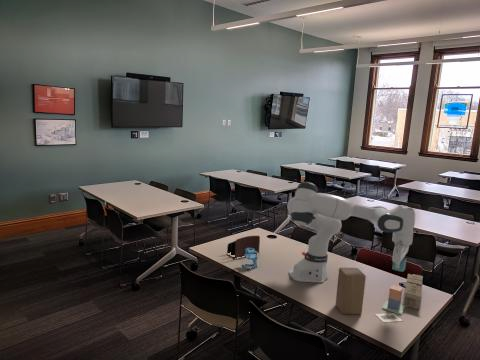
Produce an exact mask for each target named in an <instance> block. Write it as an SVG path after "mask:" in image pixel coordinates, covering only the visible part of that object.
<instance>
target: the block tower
mask: <svg viewBox="0 0 480 360" xmlns="http://www.w3.org/2000/svg"><path fill="white" fill-rule="evenodd" d="M423 278H424V276H423V275H420V274H414V273H413V274H411V273H407V277H406V282H405V289H404V290H405V291H404V294H403V295H404V296H403V304H402V305H403V306H405V307H409V308H413V309H416V310H420V309H421V300H422V290H423Z"/></svg>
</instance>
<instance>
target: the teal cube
mask: <svg viewBox="0 0 480 360" xmlns="http://www.w3.org/2000/svg"><path fill="white" fill-rule="evenodd" d="M406 265H407V258H404V259H402V261H401V262H400V268H399V269H398V268H396V267H395V266H396V263H395V262H393V261H392V267H391V269H392V270H394V271H398V272H401V273H403V272H404V271H405V270H406V267H407V266H406Z"/></svg>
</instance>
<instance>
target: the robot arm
mask: <svg viewBox="0 0 480 360" xmlns="http://www.w3.org/2000/svg"><path fill="white" fill-rule="evenodd" d="M296 187H297V188H296V191H295V194H294V197H292V198H290V199H289V200H288V202H287V204H286V205H287V206H286V207H287V210H288V213H290V214H291V215H290V218H291V221H292V222H293V223H295V224H297V225H299V226H305V227H306V228H309V229H311V230H314V231H316V233H317V234H315V235H313V236H311V237H310V238H309V239H308V244H307V245H308V247H307V252H305V251H302V252H301V255H302V256H303V258H302V259H301V260H299V261H297V262H296V263H294V266H293V269H291V270H289V276H290V277H291V278H292V280H294V281H295V282H301V283H324V281H326V280H328V278H329V276H328V270H327V267H328V265H327V263H328V260H329V259H328V257H329V255H328V248H329V243H330V240H331V239H332V237H333V236H334V235H336V234H337V233H339V232H340V231H341V229H342V221H346V220H347V219H349V218H350V217H356V218H360V219H364V220H367V221H369V222H370V223H371V224H372V225H374V226H375V227H377V229H378V230H380V231H381V232H383V233H392V239H391V240H392V242H393V243H394V248H393V251H392V257H391V260H392V263H393V262H395V263H396V266H395V267H396V268H398V269H399V268H400V262H401V261H402V259H405V256H406V255H407V254H408V252H409V248H410V246H411V245H412V244H413V238H414V227H415V223H416V212H415V209H413V208H412V207H409V206H408V205H404V204H399V205H397V206H396V207H394V208H391V209H389V210H388V209H387V208H386V207H384V206H382V205H381V206H379V205H377V206H366V205H362V204H358V203H354V202H353V201H350V200H349V199H347V198H344V197H341V196H339V195H335V194H331V193H330V194H329V193H322V192H318V187H317V186H316V184H314V183H312V182H308V181H302V182H300V183H299V184H298V185H297V186H296Z"/></svg>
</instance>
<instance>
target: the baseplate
mask: <svg viewBox="0 0 480 360" xmlns="http://www.w3.org/2000/svg"><path fill="white" fill-rule="evenodd" d="M401 302H402V298H401V299H400V301H398V300H394V299H391V298H389V297H388V300H386V301H385V302H384V304H383V305H382V307H381V309H382V310H384V311H388V312H389V313H393V312H394V314H396V315H400V316H402V315H403V313H404V311H405V308H406V306H404V305H403V304H402V303H401Z"/></svg>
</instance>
